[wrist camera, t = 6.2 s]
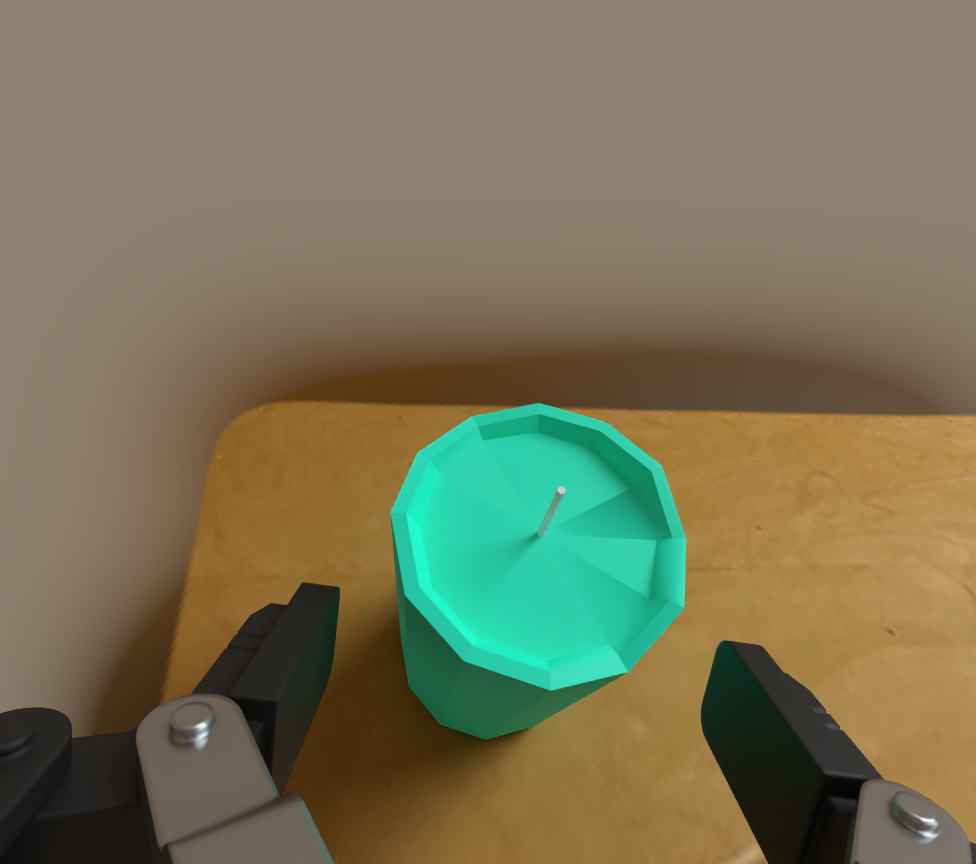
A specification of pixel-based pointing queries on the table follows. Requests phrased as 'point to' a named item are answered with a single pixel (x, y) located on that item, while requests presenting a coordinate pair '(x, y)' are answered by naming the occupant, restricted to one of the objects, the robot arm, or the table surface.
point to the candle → (531, 566)
